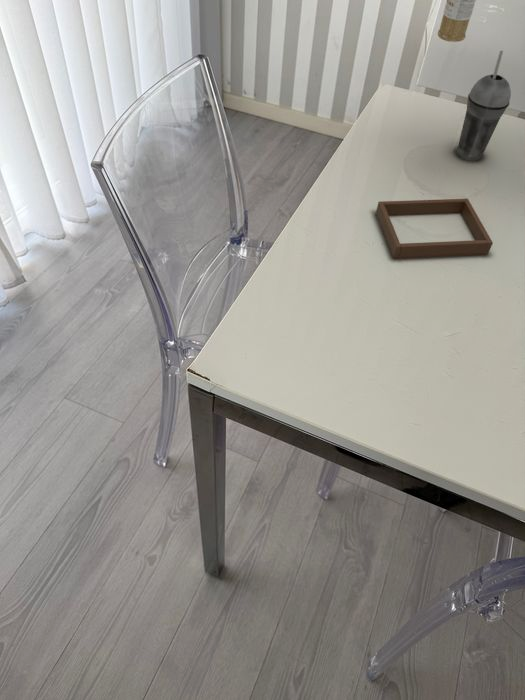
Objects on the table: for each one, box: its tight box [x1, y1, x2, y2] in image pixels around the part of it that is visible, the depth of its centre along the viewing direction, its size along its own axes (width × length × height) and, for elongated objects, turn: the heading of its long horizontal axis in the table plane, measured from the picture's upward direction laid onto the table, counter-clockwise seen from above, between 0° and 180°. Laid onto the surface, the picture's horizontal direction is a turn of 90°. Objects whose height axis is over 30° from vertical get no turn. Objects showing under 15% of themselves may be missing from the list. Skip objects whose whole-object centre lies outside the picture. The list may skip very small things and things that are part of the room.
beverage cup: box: [456, 50, 512, 162], centre depth 102 cm, size 7×7×20 cm
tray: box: [375, 198, 494, 260], centre depth 93 cm, size 16×12×3 cm
